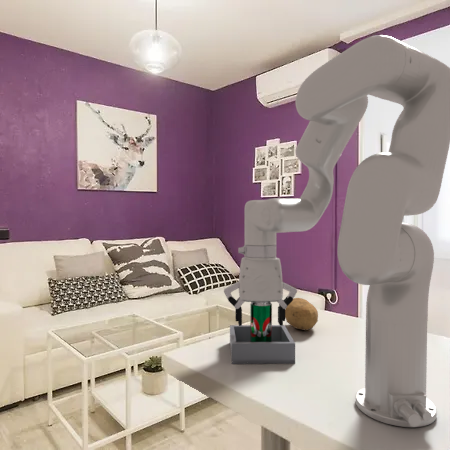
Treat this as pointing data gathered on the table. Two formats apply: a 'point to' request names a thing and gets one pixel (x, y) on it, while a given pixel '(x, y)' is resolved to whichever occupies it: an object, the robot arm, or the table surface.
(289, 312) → the potato
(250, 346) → the bin
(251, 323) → the soda can
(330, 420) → the table surface
